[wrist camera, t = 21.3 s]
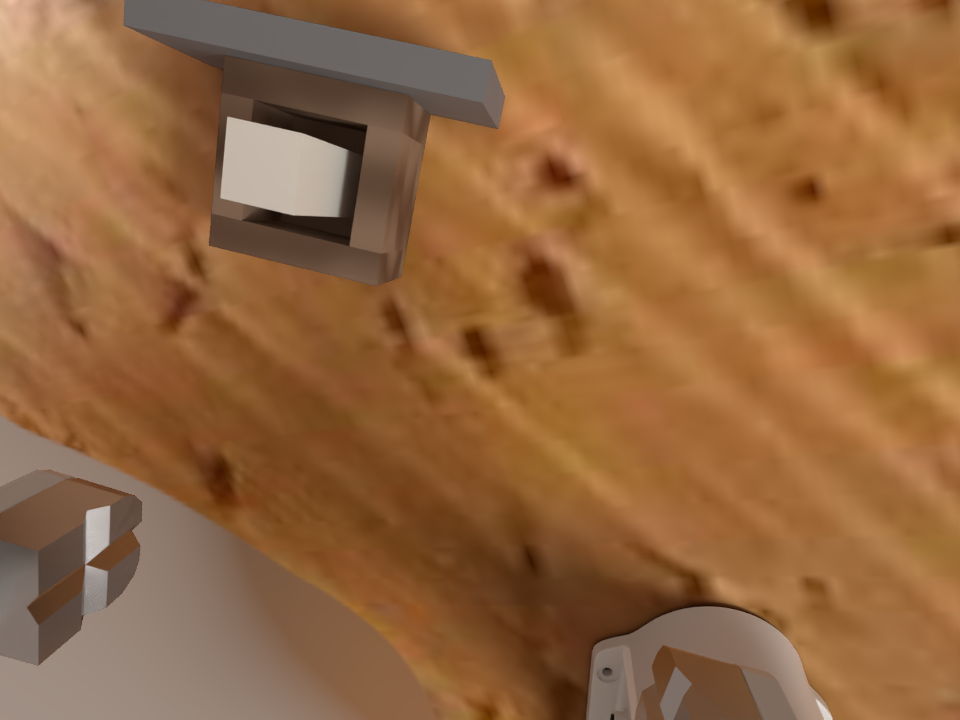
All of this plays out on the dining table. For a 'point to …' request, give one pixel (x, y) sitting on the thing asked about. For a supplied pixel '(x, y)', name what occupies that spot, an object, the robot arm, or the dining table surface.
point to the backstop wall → (325, 54)
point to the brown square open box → (347, 124)
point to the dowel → (288, 171)
